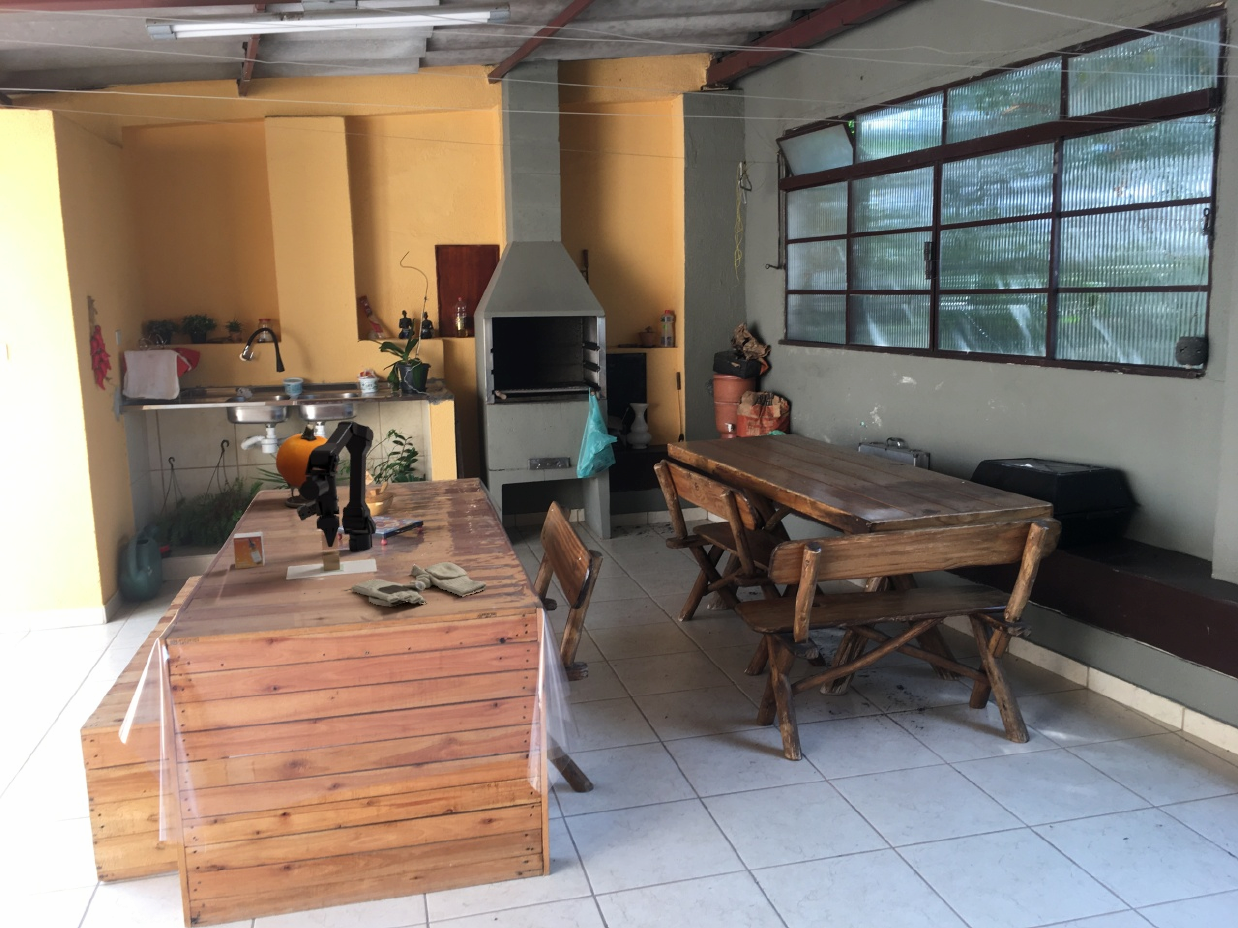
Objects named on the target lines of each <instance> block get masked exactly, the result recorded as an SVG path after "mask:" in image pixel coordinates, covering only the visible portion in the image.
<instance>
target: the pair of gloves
mask: <svg viewBox="0 0 1238 928" xmlns="http://www.w3.org/2000/svg"><path fill="white" fill-rule="evenodd" d="M410 575H411V576H415V580H410V582H409V583H404V584H403V583H399V582H395V581H389V580H385V579H381V578H380V579H379V578H376V579H369V580H365V581H362V582H359V583H356V584H354V585H352V587H351V590H352V592H353V593H355V592H357V593H356V594H359V593H360V595H363V596H367V597H368V602H369V603H370V602H371V603H370V604H372V603H373V604H372V605H374V604H376V605H375V606H377V605H382V606H381V607H383V606H389V607H388V608H392V607H391V606H395V605H398V604H401V603H403V602H406V601H408V602H407V603H410V604H416V603H418V604H420V605H421V604H422V603H424V602H425V603H426V602H428V600H426V599H424V597H423V596H422V595H421V594H420V593H422V592H423V591H424V590H426V589H425V588H427V589H429V588H431V587H434V586H433V585H435V587H437V586H438V588H439V589H441V590H442V589H443V590H442V591H445V590H447V591H446V592H449V593H450V592H452V593H451V594H453V593H455V594H457V595H460V596H463V595H466V594H469V593H473V591H474V592H476V591H480V590H484V589H485V590H486V589H487V582H483V581H481V580H472V579H470V577H469V576H467V575H468V573H467V571H466V570H465V569H463V568H462V567H460V566H458V565H457V564H455V563H453V562H449V561H448V562H446V561H444V562H438V563H436V564H431V565H429V566H426V567H424V568H420V566H419V565H417V564H413V565H412V568H411V571H410ZM485 590H484V591H485ZM455 594H454V595H455ZM457 595H456V596H457ZM460 596H459V597H460ZM401 605H402V604H401ZM398 606H399V605H398ZM395 607H396V606H395Z"/></svg>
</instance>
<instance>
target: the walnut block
mask: <svg viewBox="0 0 1238 928" xmlns="http://www.w3.org/2000/svg"><path fill="white" fill-rule="evenodd" d="M322 561H323V563H322V564H323V565H324V571H330V570H340V562H341V561H340V550H331V551H330V550H326V551H323V552H322Z"/></svg>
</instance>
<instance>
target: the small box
mask: <svg viewBox="0 0 1238 928" xmlns="http://www.w3.org/2000/svg"><path fill="white" fill-rule="evenodd" d="M263 534H264V533H263V531H255V532H246V533H245V532H244V533H234V536H233V538H232V539H233V540H232V541H233V553H234V565H235V566H234V568H235V569H236V570H237V569H249V568H258V567H264V566H265V562H266V561H265V551H264V550H265V549H264V535H263Z"/></svg>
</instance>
